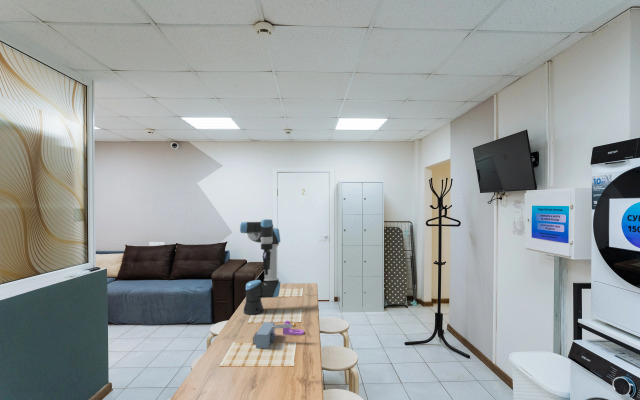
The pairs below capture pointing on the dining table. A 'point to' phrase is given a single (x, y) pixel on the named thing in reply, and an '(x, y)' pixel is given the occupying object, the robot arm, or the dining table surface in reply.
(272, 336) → the gray block
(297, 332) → the bracket
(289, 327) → the latch bar
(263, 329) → the hitch block
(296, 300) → the dining table surface
